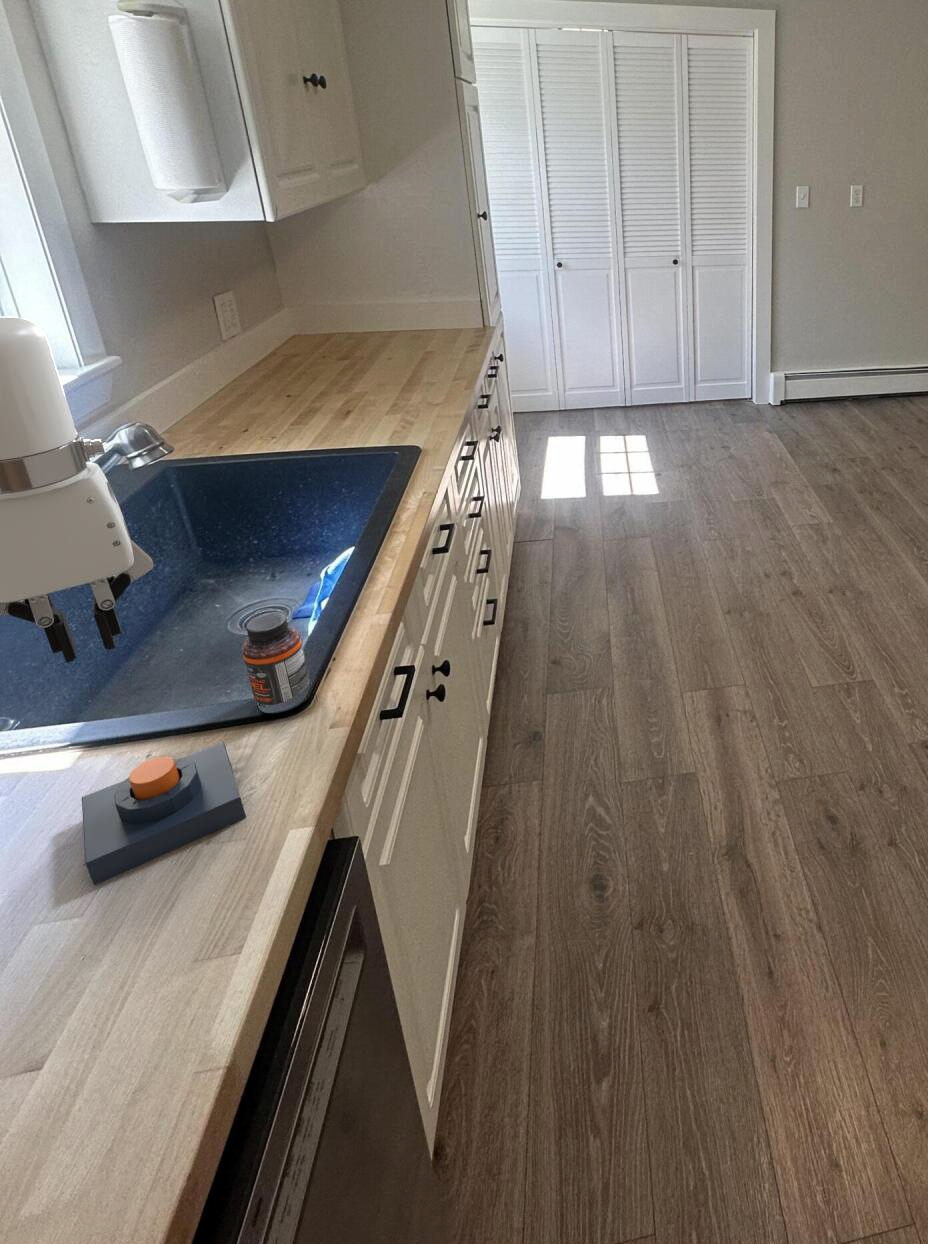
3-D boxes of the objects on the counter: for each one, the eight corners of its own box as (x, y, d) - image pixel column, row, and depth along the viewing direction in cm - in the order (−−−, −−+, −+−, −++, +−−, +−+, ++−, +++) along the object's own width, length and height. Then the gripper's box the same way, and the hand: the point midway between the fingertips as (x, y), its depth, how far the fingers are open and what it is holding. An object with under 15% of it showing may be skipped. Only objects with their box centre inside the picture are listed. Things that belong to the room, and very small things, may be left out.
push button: (136, 806, 75) (130, 789, 74) (133, 784, 77) (127, 767, 76) (181, 788, 77) (176, 771, 76) (177, 766, 79) (172, 750, 79)
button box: (93, 886, 71) (79, 848, 70) (89, 817, 78) (75, 782, 77) (246, 818, 78) (236, 782, 77) (229, 761, 86) (219, 727, 84)
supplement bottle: (244, 709, 93) (222, 628, 89) (289, 680, 98) (270, 602, 94) (281, 723, 91) (260, 640, 87) (324, 692, 96) (306, 612, 92)
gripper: (140, 433, 74) (188, 601, 81) (-101, 475, 64) (-24, 663, 71) (148, 456, 69) (199, 635, 75) (-114, 506, 59) (-30, 706, 65)
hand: (90, 647), depth 73 cm, fingers closed
